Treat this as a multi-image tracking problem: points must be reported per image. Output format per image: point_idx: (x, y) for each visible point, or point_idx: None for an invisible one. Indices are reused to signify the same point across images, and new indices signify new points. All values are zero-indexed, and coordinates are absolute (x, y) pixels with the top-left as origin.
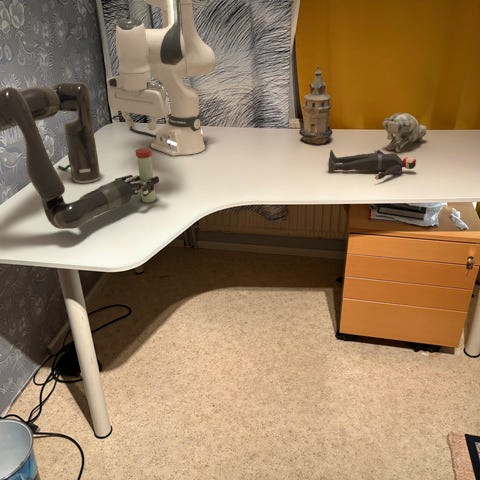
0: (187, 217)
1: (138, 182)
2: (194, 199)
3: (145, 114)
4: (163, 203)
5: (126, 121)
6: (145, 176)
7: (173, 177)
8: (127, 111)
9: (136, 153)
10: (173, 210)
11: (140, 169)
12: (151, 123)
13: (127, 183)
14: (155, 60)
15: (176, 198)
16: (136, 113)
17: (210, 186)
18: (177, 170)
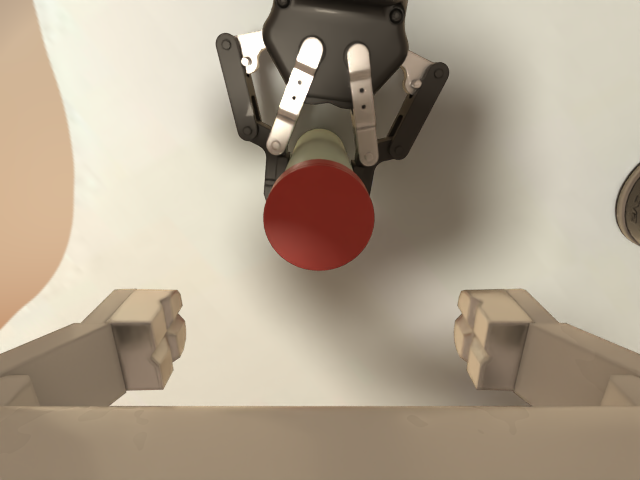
0: (86, 98)
1: (291, 79)
2: (175, 236)
3: (7, 412)
4: (248, 155)
5: (538, 315)
6: (298, 150)
7: (358, 344)
8: (566, 412)
9: (343, 168)
10: (173, 123)
11: (322, 150)
12: (60, 334)
13: (347, 51)
14: None
15: (235, 213)
16: (295, 407)
17: (200, 340)
18: (380, 391)
